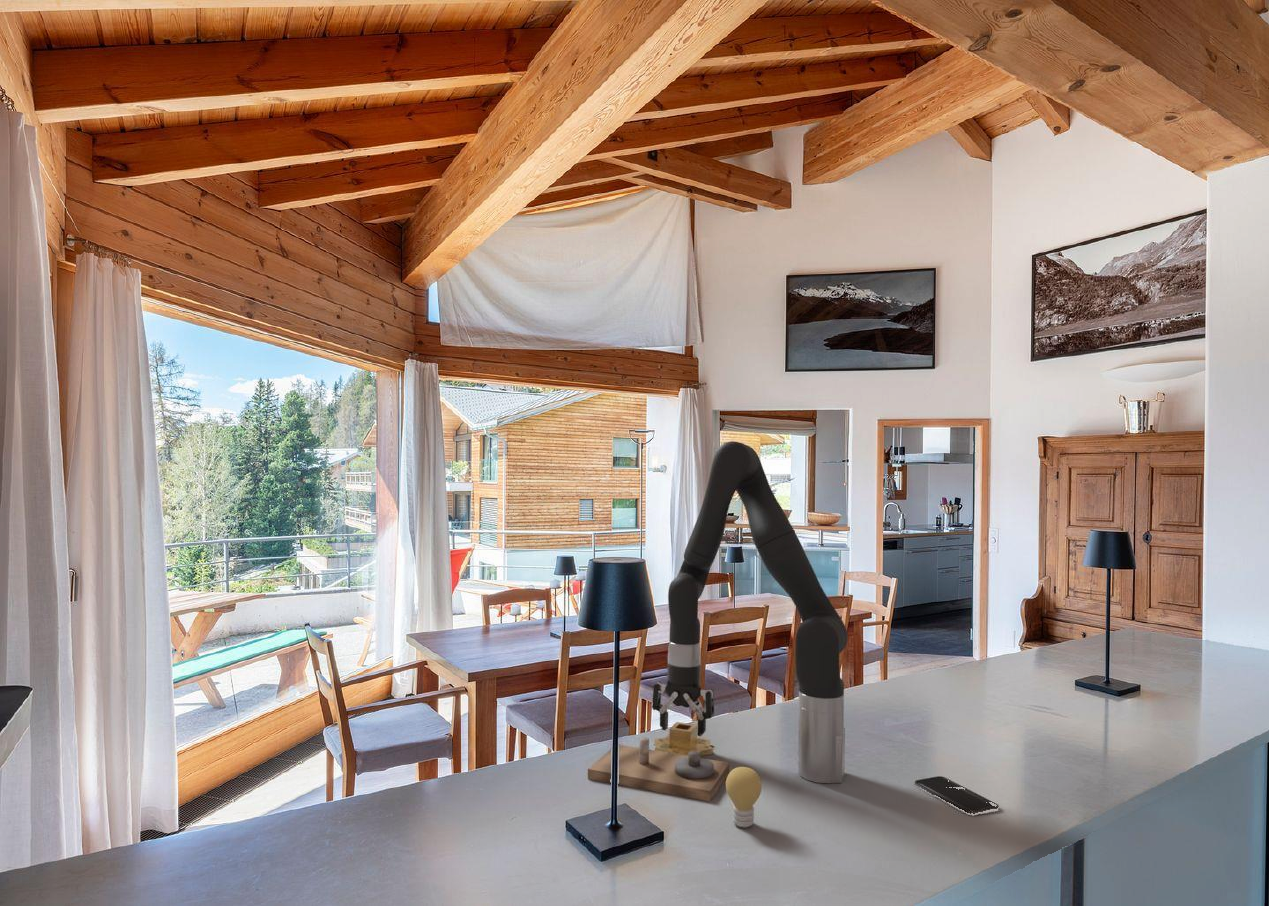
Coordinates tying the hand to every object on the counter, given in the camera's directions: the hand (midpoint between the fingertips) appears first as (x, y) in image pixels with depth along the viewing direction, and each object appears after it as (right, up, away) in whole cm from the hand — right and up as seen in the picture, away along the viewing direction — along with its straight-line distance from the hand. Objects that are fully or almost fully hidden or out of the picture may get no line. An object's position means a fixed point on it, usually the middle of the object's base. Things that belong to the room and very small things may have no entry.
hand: (682, 732), depth 167 cm
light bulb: (+9, -3, -36) cm, 37 cm away
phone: (+52, -4, -23) cm, 58 cm away
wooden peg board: (-6, -3, -15) cm, 17 cm away
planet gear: (0, -4, -1) cm, 4 cm away
